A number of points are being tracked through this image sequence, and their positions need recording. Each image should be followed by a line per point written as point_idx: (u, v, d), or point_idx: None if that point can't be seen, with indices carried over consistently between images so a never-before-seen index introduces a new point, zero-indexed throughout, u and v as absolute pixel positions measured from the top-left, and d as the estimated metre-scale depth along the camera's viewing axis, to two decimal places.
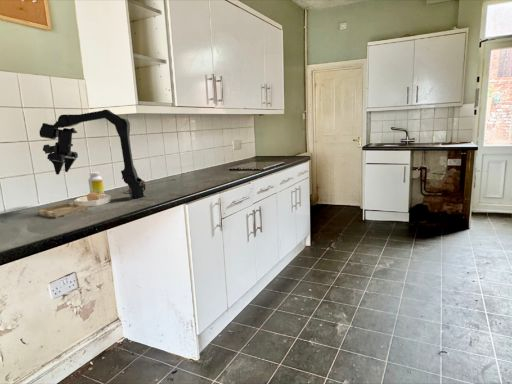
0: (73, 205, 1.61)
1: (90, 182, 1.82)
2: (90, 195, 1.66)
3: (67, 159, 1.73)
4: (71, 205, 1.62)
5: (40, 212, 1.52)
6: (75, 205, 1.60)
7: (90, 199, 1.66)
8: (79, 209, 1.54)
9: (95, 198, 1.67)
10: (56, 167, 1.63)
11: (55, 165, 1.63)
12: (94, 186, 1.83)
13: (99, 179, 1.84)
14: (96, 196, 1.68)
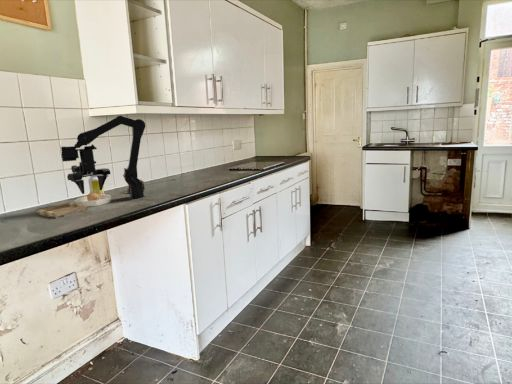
0: (73, 205, 1.61)
1: (90, 182, 1.82)
2: (90, 195, 1.66)
3: (99, 177, 1.71)
4: (71, 205, 1.62)
5: (40, 212, 1.52)
6: (75, 205, 1.60)
7: (90, 199, 1.66)
8: (79, 209, 1.54)
9: (95, 198, 1.67)
10: (79, 187, 1.63)
11: (78, 185, 1.63)
12: (94, 186, 1.82)
13: None
14: (96, 196, 1.68)
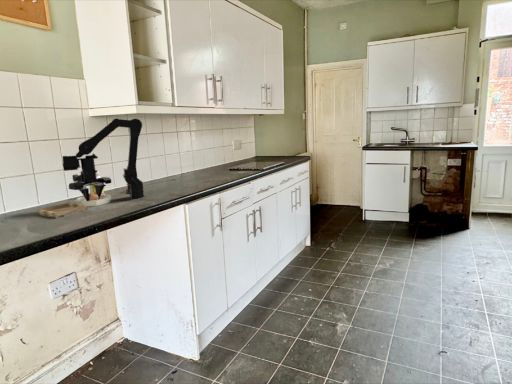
0: (73, 205, 1.61)
1: None
2: (90, 195, 1.66)
3: (97, 186, 1.70)
4: (71, 205, 1.62)
5: (40, 212, 1.52)
6: (75, 205, 1.60)
7: (90, 199, 1.66)
8: (79, 209, 1.54)
9: (95, 198, 1.67)
10: (84, 195, 1.65)
11: (83, 193, 1.65)
12: None
13: None
14: (96, 196, 1.68)
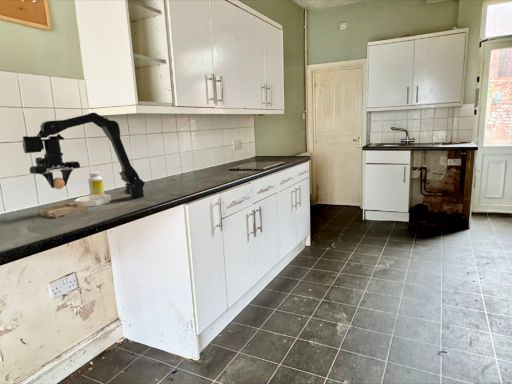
0: (73, 205, 1.61)
1: (90, 182, 1.82)
2: (55, 180, 1.50)
3: (63, 171, 1.54)
4: (71, 205, 1.62)
5: (40, 212, 1.52)
6: (75, 205, 1.60)
7: (55, 185, 1.50)
8: (79, 209, 1.54)
9: (60, 184, 1.51)
10: (48, 180, 1.49)
11: (47, 178, 1.49)
12: (94, 186, 1.82)
13: (99, 179, 1.84)
14: (62, 181, 1.51)
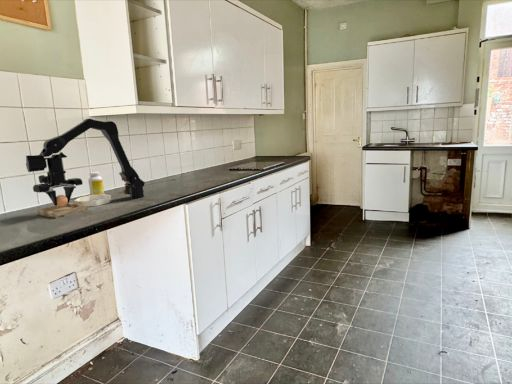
0: (73, 205, 1.61)
1: (90, 182, 1.82)
2: (58, 198, 1.52)
3: (66, 188, 1.56)
4: (71, 205, 1.62)
5: (40, 212, 1.52)
6: (75, 205, 1.60)
7: (58, 202, 1.52)
8: (79, 209, 1.54)
9: (63, 201, 1.52)
10: (51, 198, 1.50)
11: (50, 196, 1.50)
12: (94, 186, 1.82)
13: (99, 179, 1.84)
14: (65, 199, 1.53)
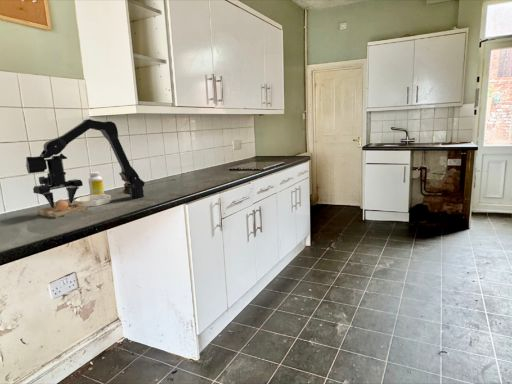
0: (73, 205, 1.61)
1: (90, 182, 1.82)
2: (58, 202, 1.52)
3: (69, 189, 1.57)
4: (71, 205, 1.62)
5: (40, 212, 1.52)
6: (75, 205, 1.60)
7: (58, 207, 1.52)
8: (79, 209, 1.54)
9: (64, 206, 1.53)
10: (48, 200, 1.49)
11: (47, 198, 1.49)
12: (94, 186, 1.83)
13: (99, 179, 1.84)
14: (65, 203, 1.53)
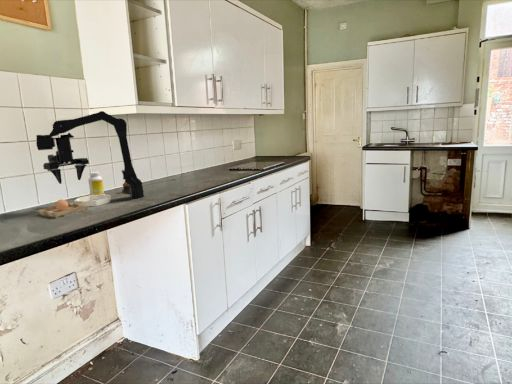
0: (73, 205, 1.61)
1: (90, 182, 1.82)
2: (59, 202, 1.52)
3: (77, 167, 1.67)
4: (71, 205, 1.62)
5: (40, 212, 1.52)
6: (75, 205, 1.60)
7: (59, 207, 1.52)
8: (79, 209, 1.54)
9: (64, 206, 1.53)
10: (56, 176, 1.58)
11: (55, 174, 1.58)
12: (94, 186, 1.83)
13: (99, 179, 1.84)
14: (65, 203, 1.53)
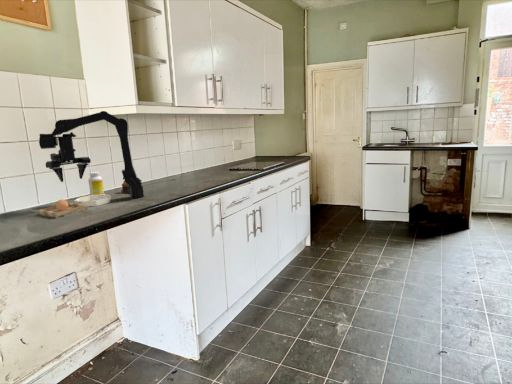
0: (73, 205, 1.61)
1: (90, 182, 1.82)
2: (59, 202, 1.52)
3: (79, 165, 1.69)
4: (71, 205, 1.62)
5: (40, 212, 1.52)
6: (75, 205, 1.60)
7: (59, 207, 1.52)
8: (79, 209, 1.54)
9: (64, 206, 1.53)
10: (58, 175, 1.61)
11: (57, 173, 1.61)
12: (94, 186, 1.83)
13: (99, 179, 1.84)
14: (66, 203, 1.54)
